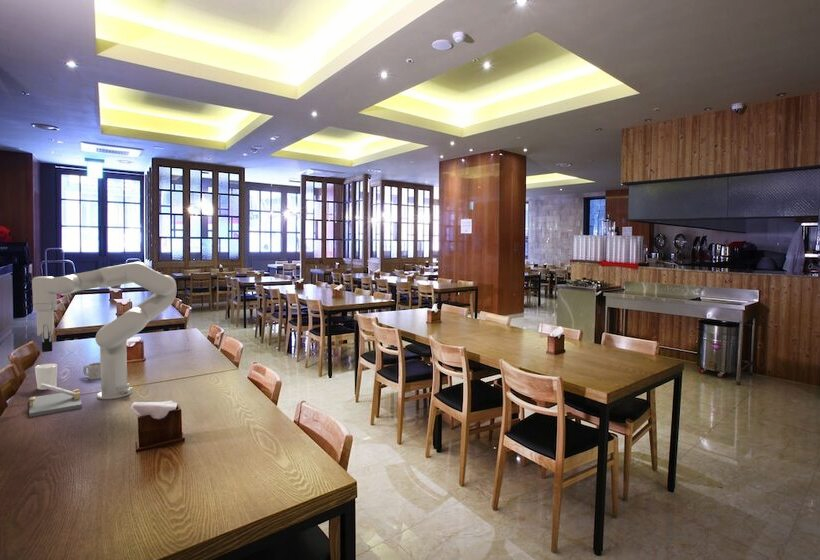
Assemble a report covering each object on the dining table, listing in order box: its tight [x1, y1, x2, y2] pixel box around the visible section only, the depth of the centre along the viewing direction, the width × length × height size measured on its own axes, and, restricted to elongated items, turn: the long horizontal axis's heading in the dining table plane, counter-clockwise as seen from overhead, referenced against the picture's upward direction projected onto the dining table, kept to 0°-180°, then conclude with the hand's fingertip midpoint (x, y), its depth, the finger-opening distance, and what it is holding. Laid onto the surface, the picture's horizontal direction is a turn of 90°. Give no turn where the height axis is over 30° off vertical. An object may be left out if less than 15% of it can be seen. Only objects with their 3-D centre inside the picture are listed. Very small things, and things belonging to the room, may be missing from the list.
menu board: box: [28, 388, 83, 418], centre depth 182 cm, size 16×22×4 cm
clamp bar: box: [40, 383, 76, 396], centre depth 183 cm, size 14×3×1 cm, turn 130°
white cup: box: [34, 363, 58, 391], centre depth 203 cm, size 8×8×10 cm
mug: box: [83, 362, 101, 380], centre depth 219 cm, size 10×7×7 cm
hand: (47, 351), depth 183 cm, fingers closed
